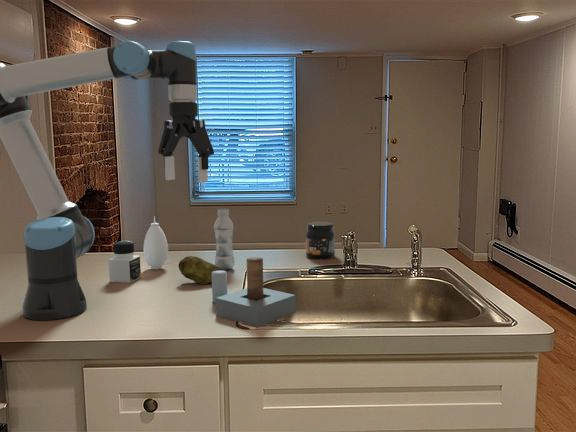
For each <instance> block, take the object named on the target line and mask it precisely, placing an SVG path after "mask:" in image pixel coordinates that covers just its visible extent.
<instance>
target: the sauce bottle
mask: <svg viewBox="0 0 576 432" xmlns="http://www.w3.org/2000/svg"><path fill="white" fill-rule="evenodd" d="M168 244H169V243H168V241H167V237H166V235H165V233H164V231H163V229H162V228H161V227H160V223H159V222H156V216H155V215H153V222H152V223H150V227H149V228H148V229H147V232H146V234H145V236H144V241H143V249H142V250H143V257H144V261H145V263H146V264H147V266H149V267H150V268H151V269H154V270H156V271H157V270H160V269H162V268H163V266H165V265H166V263H167V260H168V258H169V245H168Z"/></svg>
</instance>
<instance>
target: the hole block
mask: <svg viewBox="0 0 576 432" xmlns="http://www.w3.org/2000/svg"><path fill="white" fill-rule="evenodd" d="M263 297H264V298H263V299H260V300H257V301H255V300H250V299H247V287H246V288H243V289H240V290H236V291H233V292H230V293H227V294H226V295H223V296H220V297H217V298H215V299H216V303H215V316H216V317H220V318H223V319H228V320H230V321H235V322H237V323H242V324H246V325H250V326H252V327H255V328H259V327H261V326H264V325H266V324H270V323H271V322H274V321H277V320H279V319H280V320H281V319H282V318H284V317H287V316H290V315H292V314H295V313H296V311H297V310H296V308H297V307H296V303H297V302H296V294H292V293H288V292H284V291H279V290H274V289H270V288H266V287H263Z"/></svg>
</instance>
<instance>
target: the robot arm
mask: <svg viewBox="0 0 576 432" xmlns="http://www.w3.org/2000/svg"><path fill="white" fill-rule="evenodd" d="M165 48H166V49H149V50H148V49H147V48H145V46H144V45H142V44H141V43H139V42H137V41H133V40H124V41H122V42H120V43H118V44H117V45H112V46H109V47H103V48H97V49H92V50H86V51H80V52H75V53H69V54H64V55H59V56H54V57H48V58H47V57H46V58H41V59H35V60H32V61H26V62H21V63H20V62H19V63H16V64H11V65H10V64H9V65H5V63H2V62H0V140H1V141H2V143H3V146H4V148H5V150H6V152H7V154H8V156H9V158H10V160H11V162H12V164H13V166H14V168H15V170H16V172H17V174H18V176H19V178H20V180H21V183H22V184H23V186H24V189H25V190H26V193H27V194H28V196H29V199H30V200H31V202H32V205H33V206H34V208H35V210H36V214H37V216H36V219H35V220H33V221H31V222H29V223H28V224H26V226H24V227H25V228H24V237H23V240H24V247H25V250H24V251H25V259H26V272H27V281H28V282H27V289H26V292H25V297H24V300H23V304H22V316H23V317H24V318H25V319H28V320H33V321H51V320H52V321H54V320H59V319H60V320H61V319H66V318H70V317H74V316H77V315H80V314H82V313H83V312H85V311H86V310H87V298H86V296H85V293H84V291H83V289H82V287H81V284H80V282H79V280H78V266H77V265H78V264H77V259H78V258H80V257H83V256H84V255H85V254H86V253H88V251H89V250H90V249H91V247H92V246H93V244H94V241H95V235H96V234H95V227H94V225H93V224H92V222H91V220H90V219H89V218H87V217H86V216H84V215H82V212H81V210H80V208H79V206H78V204H76V203H74V202H71V201H70V200H69V198H68V197H67V194H66V192H65V190H64V188H63V187H62V186H63V185H62V184H61V181H60V179H59V178H58V175H57V173H56V172H55V170H54V167H53V165H52V163H51V161H50V159H49V157H48V155H47V153H46V151H45V149H44V146H43V145H42V142H41V140H40V139H39V136H38V135H37V132H36V130H35V128H34V126H33V124H32V122H31V117H32V114H33V109H32V108H31V106H30V104H29V100H30V96H31V95H37V94H42V93H47V92H52V91H56V90H57V91H58V90H62V89H67V88H73V87H79V86H82V85H83V86H85V85H89V84H94V83H99V82H100V83H101V82H103V81H109V80H115V79H121V78H124V79H125V80H134V81H139V80H167V81H168V82H167V83H168V86H167V87H168V100H169V101H171V102H169V104H168V105H169V107H168V109H169V116H170V117H171V118H172V120H169V119H168V120H164V123H163V125H164V127H163V128H164V129H163V131H162V136H161V139H160V142H159V147H158V150H157V152H158V154H159V155H162V156H163V165H164V167H163V168H164V171H165V172H164V173H165V181H173V180H174V181H175V180H176V173H175V171H176V169H175V156H174V151H175V150H176V147H177V146H178V144H179V142H180V139H182V138H186V137H187V139H189V140H190V142H191V144H192V146H193V147H194V149H195V151H196V152H197V154H198V157H197V182H198V183H208V181H209V180H208V179H209V178H208V177H209V175H208V170H209V168H210V167H209V158H210V157H211V156H213V155H215V150H214V147H213V145H212V142H211V139H210V137H209V134H208V132H207V129H206V121H205V120H204V119H196V117H198V115H199V111H198V110H199V108H198V107H199V106H198V105H199V104H198V103H197V102H196V101H197V100H198V81H197V80H198V78H197V76H198V75H197V74H198V73H197V55H196V46H195V45H194V43H192V42H191V41H183V40H175V41H173V40H172V41H168V42H167V43H166V47H165Z"/></svg>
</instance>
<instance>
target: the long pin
mask: <svg viewBox="0 0 576 432" xmlns="http://www.w3.org/2000/svg"><path fill="white" fill-rule="evenodd" d="M246 288H247V299H250V300H255V301H257V300H260V299H263V298H264V297H263V288H264V258H263V257H259V256H252V257H247V258H246Z"/></svg>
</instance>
